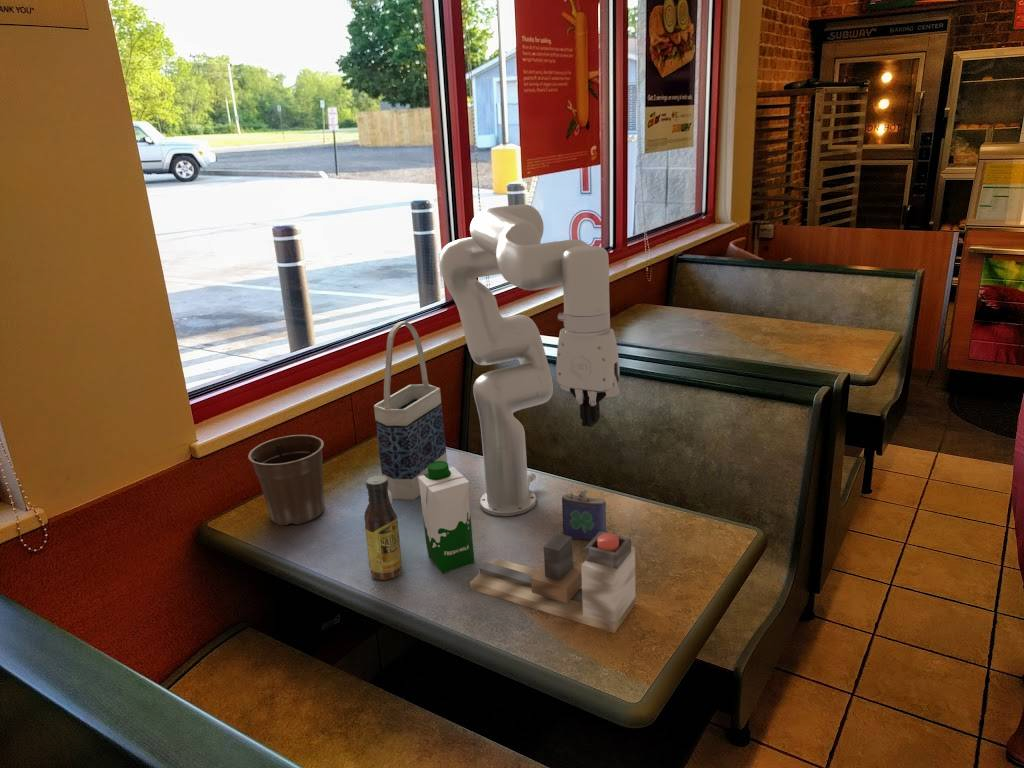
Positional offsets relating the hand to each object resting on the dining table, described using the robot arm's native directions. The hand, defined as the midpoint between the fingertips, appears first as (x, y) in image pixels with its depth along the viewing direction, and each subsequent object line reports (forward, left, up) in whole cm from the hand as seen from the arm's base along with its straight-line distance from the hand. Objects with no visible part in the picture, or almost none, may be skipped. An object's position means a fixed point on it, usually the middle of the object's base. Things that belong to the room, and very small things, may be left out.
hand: (590, 423), depth 133 cm
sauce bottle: (+16, -37, -31) cm, 51 cm away
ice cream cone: (+6, -46, -31) cm, 56 cm away
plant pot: (+6, -72, -31) cm, 79 cm away
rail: (+9, -5, -31) cm, 33 cm away
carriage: (+9, -2, -28) cm, 30 cm away
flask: (-12, -8, -31) cm, 34 cm away
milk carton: (+7, -28, -31) cm, 43 cm away
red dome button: (+9, +7, -19) cm, 22 cm away
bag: (-18, -56, -31) cm, 67 cm away
